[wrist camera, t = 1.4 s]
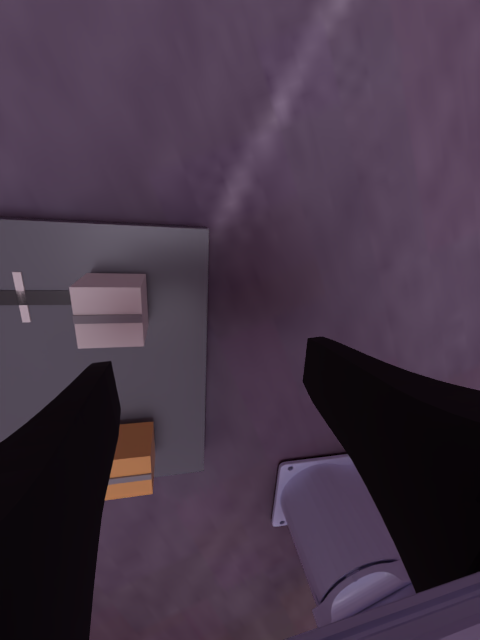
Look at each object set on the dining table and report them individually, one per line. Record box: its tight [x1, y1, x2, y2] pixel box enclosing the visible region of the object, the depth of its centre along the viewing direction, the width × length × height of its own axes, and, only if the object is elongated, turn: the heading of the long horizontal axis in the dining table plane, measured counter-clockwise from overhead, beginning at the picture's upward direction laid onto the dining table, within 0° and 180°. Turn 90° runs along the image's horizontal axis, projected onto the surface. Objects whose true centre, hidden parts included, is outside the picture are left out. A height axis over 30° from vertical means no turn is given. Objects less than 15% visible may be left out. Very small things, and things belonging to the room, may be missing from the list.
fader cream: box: [69, 273, 148, 349], centre depth 15 cm, size 3×3×3 cm
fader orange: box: [105, 422, 155, 500], centre depth 19 cm, size 3×3×3 cm
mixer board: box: [0, 217, 209, 477], centre depth 19 cm, size 20×18×2 cm
